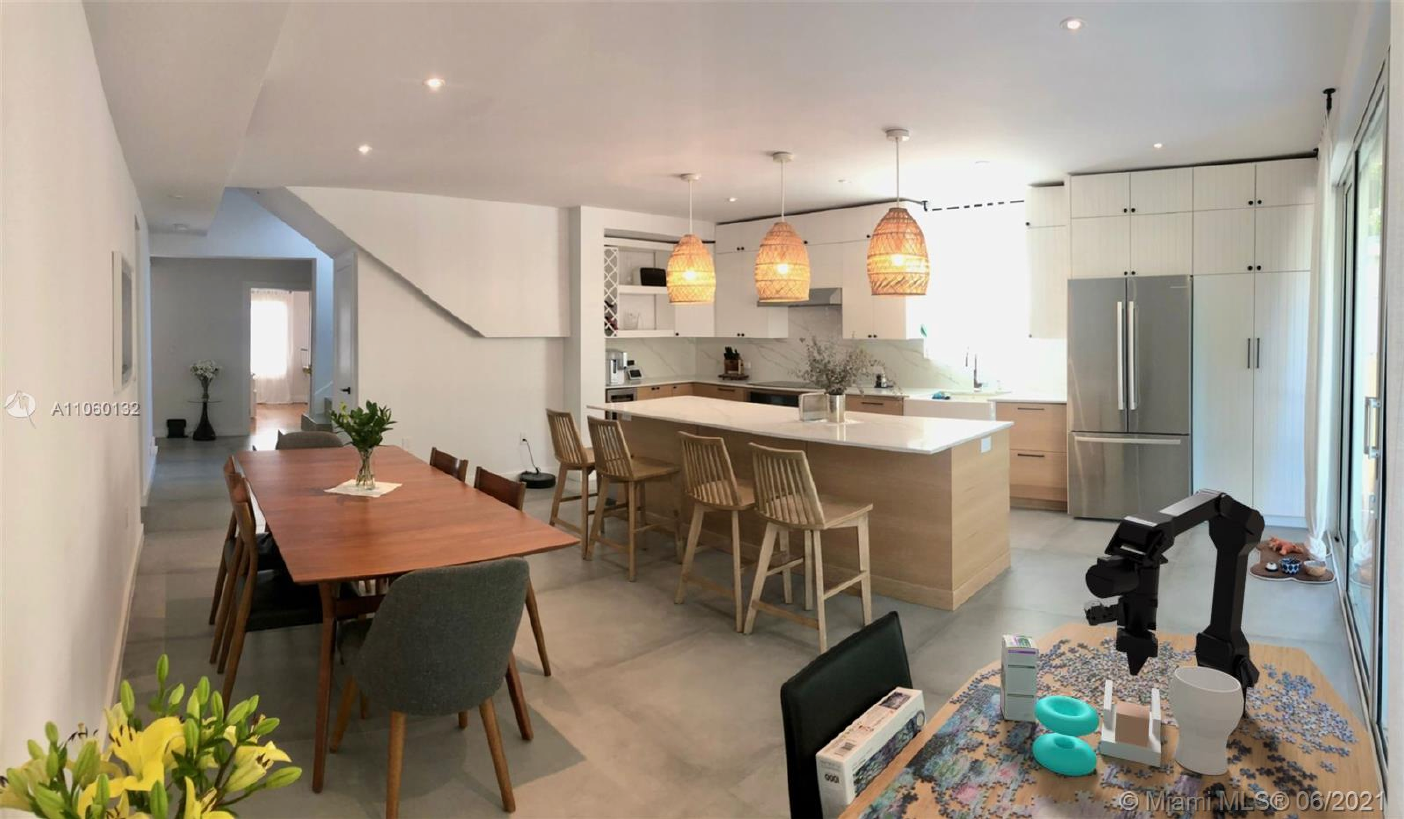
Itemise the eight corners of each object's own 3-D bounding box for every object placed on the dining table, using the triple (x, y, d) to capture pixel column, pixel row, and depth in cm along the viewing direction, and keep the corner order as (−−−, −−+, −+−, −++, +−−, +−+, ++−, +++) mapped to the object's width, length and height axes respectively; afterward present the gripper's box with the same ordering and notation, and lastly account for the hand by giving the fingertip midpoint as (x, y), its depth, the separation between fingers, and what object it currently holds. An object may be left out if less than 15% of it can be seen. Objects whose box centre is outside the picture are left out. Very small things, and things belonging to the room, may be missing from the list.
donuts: (1066, 726, 130) (1021, 698, 139) (1063, 784, 131) (1019, 753, 141) (1113, 715, 134) (1067, 688, 143) (1110, 772, 135) (1064, 742, 144)
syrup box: (1036, 723, 151) (1040, 648, 149) (1002, 720, 152) (1006, 645, 150) (1030, 708, 156) (1034, 636, 154) (998, 705, 157) (1001, 633, 156)
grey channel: (1157, 714, 154) (1159, 689, 153) (1159, 767, 136) (1161, 739, 136) (1104, 703, 158) (1105, 679, 157) (1100, 753, 140) (1101, 726, 140)
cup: (1238, 788, 130) (1246, 699, 128) (1162, 768, 136) (1168, 683, 134) (1237, 757, 139) (1244, 673, 137) (1165, 739, 145) (1171, 659, 143)
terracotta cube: (1147, 734, 142) (1149, 706, 141) (1147, 747, 138) (1149, 719, 137) (1115, 727, 144) (1117, 700, 144) (1114, 740, 140) (1116, 712, 139)
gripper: (1090, 567, 154) (1085, 646, 156) (1085, 598, 137) (1080, 686, 139) (1158, 576, 149) (1152, 658, 150) (1161, 610, 132) (1154, 701, 134)
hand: (1133, 674), depth 144 cm, fingers closed
